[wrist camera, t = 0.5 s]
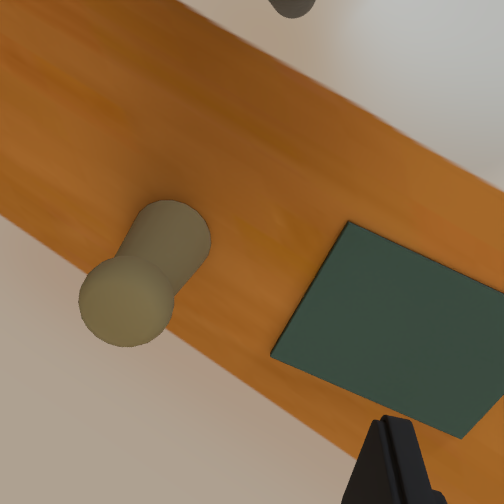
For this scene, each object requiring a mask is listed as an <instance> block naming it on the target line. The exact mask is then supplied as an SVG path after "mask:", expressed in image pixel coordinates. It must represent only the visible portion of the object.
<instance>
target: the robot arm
mask: <svg viewBox="0 0 504 504" xmlns="http://www.w3.org/2000/svg"><path fill="white" fill-rule="evenodd" d="M341 504H447V502H446V499H445V497H444V496H443V495H442V493H441V492H439V491H436V490H432V489H431V485H430V482H429V478H428V475H427V472H426V468H425V465H424V461H423V458H422V455H421V451H420V448H419V444H418V441H417V438H416V434H415V431H414V427H413V424H412V422H411V421H410V420H407V419H402V418H398V417H393V416H388V415H383V416H382V417H381V419H380V421H379V420H373V421H372V423H371V426H370V428H369V431H368V433H367V436H366V439H365V441H364V444H363V446H362V449H361V451H360V454H359V457H358V459H357V462H356V464H355V467H354V470H353V472H352V475H351V477H350V480H349V483H348V485H347V488H346V490H345V493H344V495H343V498H342V502H341Z"/></svg>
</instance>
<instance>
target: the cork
mask: <svg viewBox="0 0 504 504" xmlns="http://www.w3.org/2000/svg"><path fill="white" fill-rule="evenodd" d="M210 246H211V238H210V231H209V229H208V227H207V225H206V222H205V220H204V219H203V218H202V217H201V216H200V215H199V213H198V212H197V211H195V210H194V209H192V208H191V207H189V206H188V205H186V204H184V203H180V202H177V201H174V200H160V201H157V202H154V203H151V204H149V205H147V206H146V207H145V208H144V209H142V210H141V211H140V212H139V214H138V216H137V217H136V219H135V221H134V223H133V224H132V226H131V228H130V230H129V232H128V233H127V235H126V237H125V239H124V241H123V242H122V244H121V246H120V248H119V250H118V251H117V253H116V255H115V257H114V258H112V259H108V260H106V261H104V262H102V263H100V264H99V265H98V266H97V267H95V268H94V269H93V270H92V271H91V272H90V273H89V274H88V275H87V277H86V279H85V281H84V282H83V284H82V286H81V289H80V293H79V301H78V303H79V308H80V313H81V317H82V319H83V321H84V323H85V324H86V326H87V328H88V329H89V330H90V331H91V332H92V333H93V334H94V335H95V336H96V337H98V338H99V339H101V340H103V341H104V342H106V343H108V344H112V345H115V346H119V347H134V346H138V345H142V344H145V343H148V342H150V341H151V340H153V339H154V338H156V337H157V336H158V335H160V334H161V333H162V332H163V330H164V329H165V327H166V326H167V324H168V323H169V321H170V319H171V316H172V312H173V308H174V296H175V295H176V294H177V293H178V291H179V290H180V289H181V288H182V287H183V286H184V284H185V283H186V282H187V281H188V280H189V279H190V277H191V276H192V275H193V274H194V273H195V272H196V271H197V269H198V268H199V267H200V266H201V265H202V263H203V262H204V260H205V259H206V258H207V256H208V254H209V250H210Z"/></svg>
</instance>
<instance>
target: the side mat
mask: <svg viewBox="0 0 504 504" xmlns="http://www.w3.org/2000/svg"><path fill="white" fill-rule="evenodd" d="M270 357H272V358H274V359H277V360H279V361H281V362H283V363H286V364H288V365H290V366H293V367H295V368H297V369H300V370H302V371H304V372H307V373H309V374H311V375H314V376H316V377H318V378H320V379H323V380H325V381H327V382H330V383H332V384H334V385H337V386H339V387H341V388H344V389H346V390H348V391H351V392H353V393H355V394H357V395H360V396H362V397H364V398H367V399H369V400H371V401H374V402H376V403H378V404H381V405H383V406H385V407H387V408H390V409H392V410H394V411H397V412H399V413H401V414H404V415H406V416H408V417H411V418H413V419H415V420H418V421H420V422H422V423H424V424H427V425H429V426H431V427H434V428H436V429H438V430H441V431H443V432H445V433H448V434H450V435H452V436H455V437H457V438H459V439H462V438H463V437H464V436H465V435H466V434H467V433H468V432H469V431H470V430H471V429H472V428H473V427H474V426H475V424H476V423H477V422H478V421H479V420H480V419H481V418H482V417H483V416H484V415H485V414H486V413H487V412H488V411H489V410H490V409H491V407H492V406H493V405H494V404H495V403H496V402H497V401H498V400H499V399H500V398H501V397H502V396H503V395H504V294H503V293H501V292H499V291H497V290H495V289H492V288H490V287H488V286H486V285H484V284H482V283H480V282H477V281H475V280H473V279H471V278H469V277H467V276H465V275H462V274H460V273H458V272H456V271H454V270H452V269H450V268H447V267H445V266H443V265H441V264H439V263H437V262H435V261H432V260H430V259H428V258H426V257H424V256H422V255H420V254H417V253H415V252H413V251H411V250H409V249H407V248H405V247H402V246H400V245H398V244H396V243H394V242H392V241H390V240H387V239H385V238H383V237H381V236H379V235H377V234H375V233H372V232H370V231H368V230H366V229H364V228H362V227H360V226H357V225H355V224H353V223H351V222H349V221H348V222H347V224H346V225H345V227H344V229H343V231H342V232H341V234H340V236H339V237H338V239H337V241H336V242H335V244H334V246H333V248H332V249H331V251H330V253H329V254H328V256H327V258H326V259H325V261H324V263H323V265H322V266H321V268H320V270H319V271H318V273H317V275H316V276H315V278H314V280H313V282H312V283H311V285H310V287H309V288H308V290H307V292H306V293H305V295H304V297H303V299H302V300H301V302H300V304H299V305H298V307H297V309H296V310H295V312H294V314H293V316H292V317H291V319H290V321H289V322H288V324H287V326H286V327H285V329H284V331H283V333H282V334H281V336H280V338H279V339H278V341H277V343H276V345H275V346H274V348H273V350H272V351H271V353H270Z"/></svg>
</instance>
